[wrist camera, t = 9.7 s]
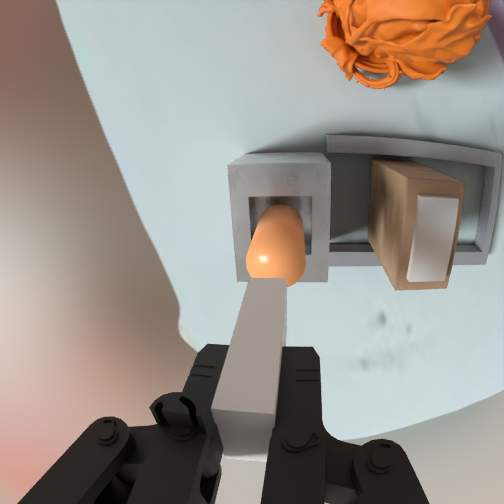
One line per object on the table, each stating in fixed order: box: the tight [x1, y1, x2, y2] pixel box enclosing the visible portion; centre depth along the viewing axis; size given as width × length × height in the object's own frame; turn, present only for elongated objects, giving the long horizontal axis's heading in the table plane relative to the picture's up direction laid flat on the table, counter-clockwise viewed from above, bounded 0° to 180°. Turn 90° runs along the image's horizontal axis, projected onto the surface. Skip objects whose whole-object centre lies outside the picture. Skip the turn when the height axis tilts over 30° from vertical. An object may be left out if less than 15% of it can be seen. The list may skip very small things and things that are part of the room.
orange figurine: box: [318, 0, 492, 90], centre depth 13 cm, size 11×11×18 cm
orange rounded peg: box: [246, 204, 306, 287], centre depth 19 cm, size 3×3×6 cm
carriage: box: [367, 159, 465, 290], centre depth 22 cm, size 8×4×11 cm, turn 3°
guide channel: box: [326, 135, 502, 266], centre depth 26 cm, size 12×19×2 cm, turn 93°
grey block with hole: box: [227, 152, 331, 282], centre depth 25 cm, size 9×7×8 cm
